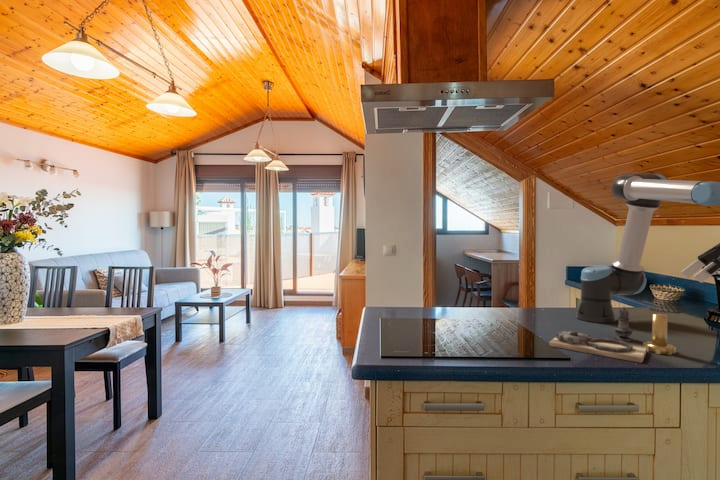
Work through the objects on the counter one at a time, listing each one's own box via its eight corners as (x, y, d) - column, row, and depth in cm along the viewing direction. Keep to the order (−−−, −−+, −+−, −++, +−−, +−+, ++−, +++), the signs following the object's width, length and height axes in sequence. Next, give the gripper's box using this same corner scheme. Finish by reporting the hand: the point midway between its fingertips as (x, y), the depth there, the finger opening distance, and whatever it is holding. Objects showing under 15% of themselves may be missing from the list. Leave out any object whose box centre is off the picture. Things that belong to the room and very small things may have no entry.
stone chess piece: (636, 341, 140) (636, 308, 139) (618, 340, 141) (618, 307, 141) (628, 337, 146) (629, 305, 145) (611, 336, 147) (611, 304, 146)
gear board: (560, 337, 145) (560, 325, 145) (646, 351, 128) (646, 338, 128) (549, 346, 135) (549, 333, 135) (641, 362, 118) (642, 348, 118)
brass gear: (644, 345, 135) (645, 311, 135) (676, 350, 130) (677, 314, 129) (641, 351, 129) (642, 315, 128) (675, 356, 123) (675, 319, 123)
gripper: (786, 240, 108) (715, 291, 115) (746, 239, 131) (688, 281, 137) (760, 221, 110) (692, 272, 117) (725, 223, 133) (669, 266, 140)
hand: (690, 277), depth 127 cm, fingers open, 13 cm apart
